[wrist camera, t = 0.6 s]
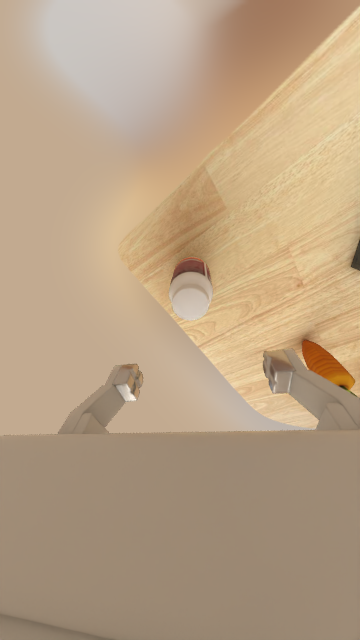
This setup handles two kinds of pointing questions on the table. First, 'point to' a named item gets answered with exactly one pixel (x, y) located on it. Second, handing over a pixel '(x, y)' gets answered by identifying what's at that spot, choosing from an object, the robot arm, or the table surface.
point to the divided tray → (356, 259)
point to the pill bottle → (191, 289)
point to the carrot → (326, 365)
